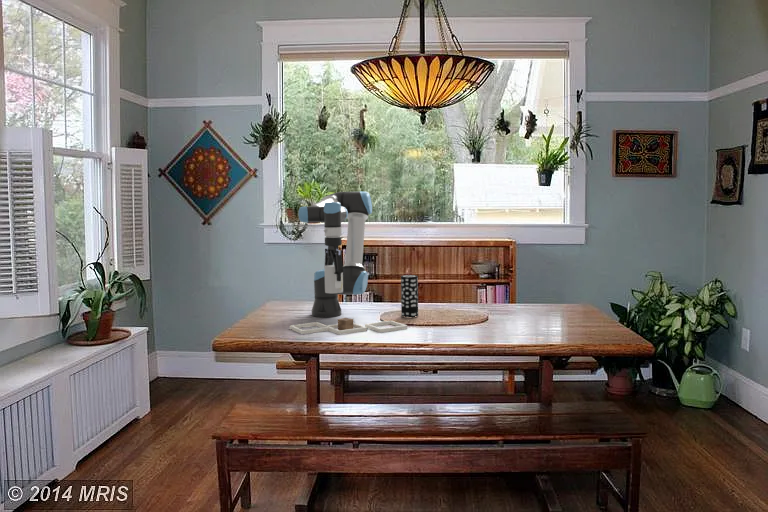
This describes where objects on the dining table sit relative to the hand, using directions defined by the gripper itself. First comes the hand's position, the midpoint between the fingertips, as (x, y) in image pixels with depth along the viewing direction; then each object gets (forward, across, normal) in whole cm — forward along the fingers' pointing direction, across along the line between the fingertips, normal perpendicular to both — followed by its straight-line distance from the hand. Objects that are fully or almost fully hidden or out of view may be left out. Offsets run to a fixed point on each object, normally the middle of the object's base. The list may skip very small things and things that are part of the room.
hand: (334, 286), depth 305 cm
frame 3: (+19, +10, +21) cm, 30 cm away
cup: (+3, 0, 0) cm, 3 cm away
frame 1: (+19, -5, -10) cm, 22 cm away
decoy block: (+19, +4, +4) cm, 20 cm away
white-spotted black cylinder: (+19, -8, +44) cm, 49 cm away
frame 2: (+19, +4, +4) cm, 20 cm away
